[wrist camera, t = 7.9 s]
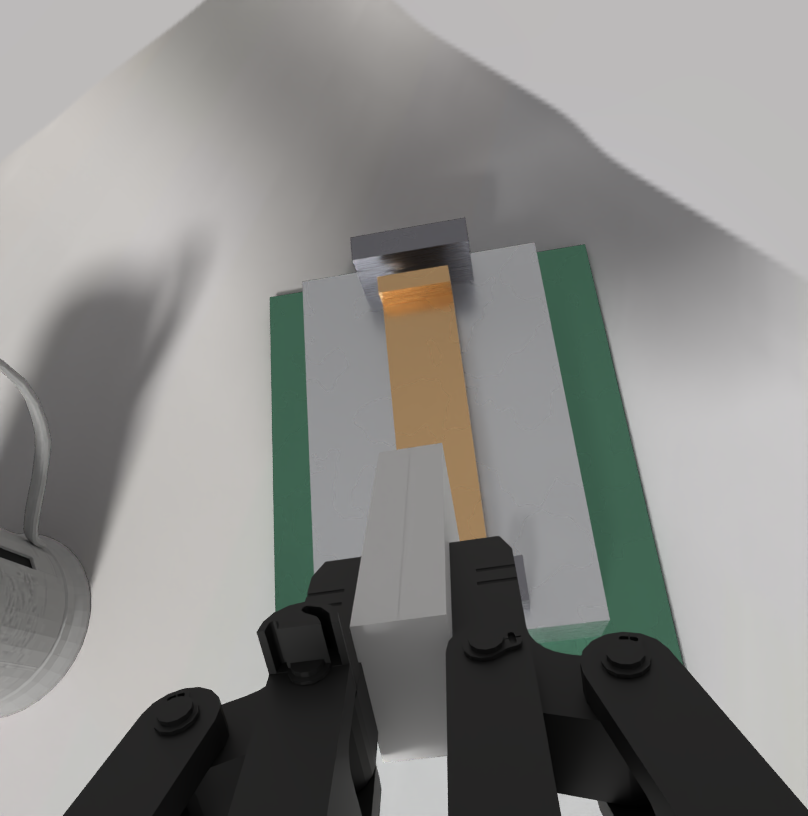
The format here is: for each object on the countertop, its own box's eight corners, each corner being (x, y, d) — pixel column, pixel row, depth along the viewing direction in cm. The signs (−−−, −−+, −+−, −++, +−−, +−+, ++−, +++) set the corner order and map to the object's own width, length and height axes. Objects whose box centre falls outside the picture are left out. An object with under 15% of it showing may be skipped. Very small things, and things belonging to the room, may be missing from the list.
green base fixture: (686, 693, 31) (731, 675, 24) (282, 735, 33) (210, 731, 26) (584, 251, 40) (594, 142, 33) (273, 303, 42) (218, 210, 35)
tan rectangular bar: (496, 605, 28) (493, 594, 26) (416, 615, 29) (407, 605, 26) (453, 295, 34) (447, 264, 32) (387, 306, 34) (377, 277, 32)
